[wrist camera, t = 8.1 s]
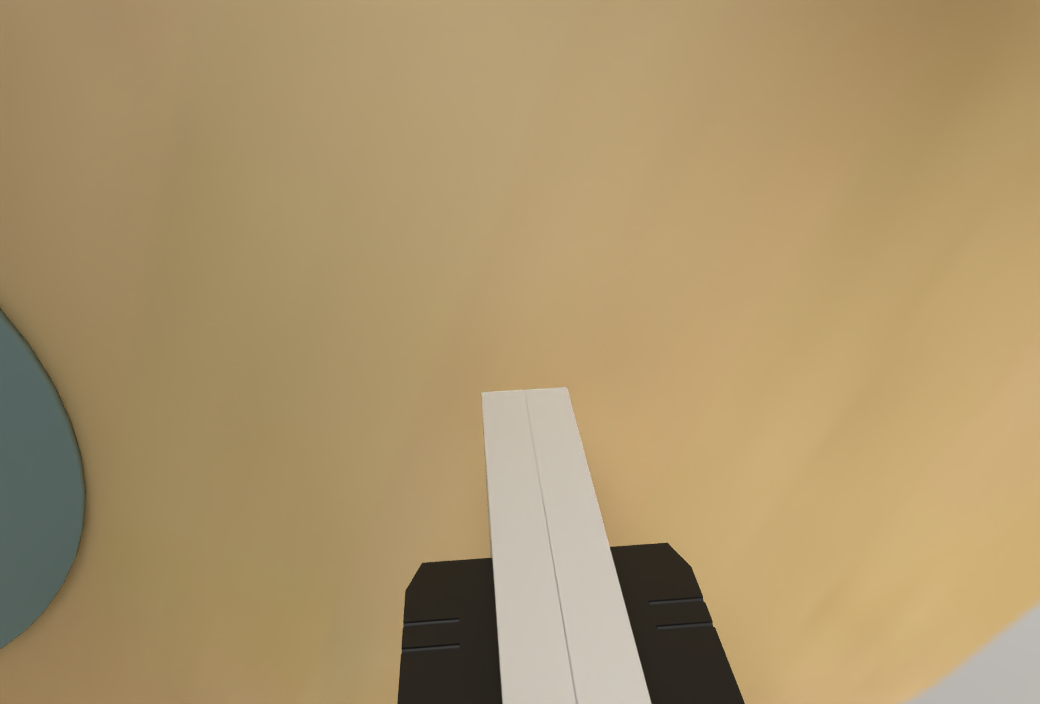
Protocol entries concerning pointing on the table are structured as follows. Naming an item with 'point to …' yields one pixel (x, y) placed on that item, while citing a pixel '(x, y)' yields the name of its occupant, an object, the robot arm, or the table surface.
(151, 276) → the table surface
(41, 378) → the mark
